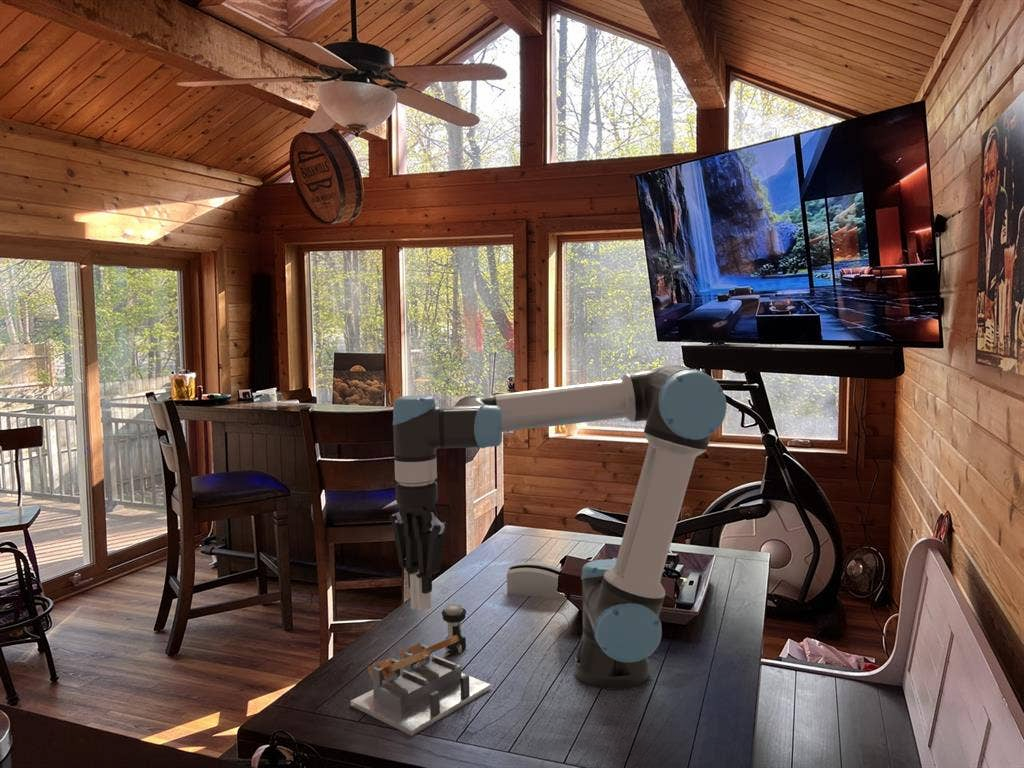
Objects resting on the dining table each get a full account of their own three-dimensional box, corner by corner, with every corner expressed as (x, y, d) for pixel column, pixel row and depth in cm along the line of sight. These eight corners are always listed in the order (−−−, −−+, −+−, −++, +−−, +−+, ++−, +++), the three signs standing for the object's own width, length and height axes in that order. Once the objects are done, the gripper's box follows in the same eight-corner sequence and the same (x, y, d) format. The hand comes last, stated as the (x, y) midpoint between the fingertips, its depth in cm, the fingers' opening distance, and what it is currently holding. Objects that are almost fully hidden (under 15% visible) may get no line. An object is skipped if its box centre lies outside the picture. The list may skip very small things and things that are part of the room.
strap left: (373, 684, 149) (367, 667, 150) (384, 678, 151) (378, 661, 152) (421, 664, 139) (414, 646, 140) (432, 658, 142) (425, 641, 142)
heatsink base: (490, 689, 151) (489, 657, 150) (411, 735, 135) (410, 700, 134) (430, 665, 162) (429, 635, 161) (350, 705, 146) (349, 672, 145)
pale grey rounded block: (572, 593, 201) (568, 562, 197) (567, 605, 197) (563, 574, 193) (513, 586, 207) (507, 556, 203) (507, 598, 203) (501, 567, 199)
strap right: (404, 668, 155) (398, 652, 156) (414, 663, 157) (408, 647, 158) (452, 648, 145) (445, 631, 146) (462, 643, 148) (455, 626, 148)
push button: (453, 661, 163) (451, 616, 162) (434, 655, 166) (432, 611, 165) (472, 649, 169) (470, 605, 168) (453, 644, 172) (451, 601, 171)
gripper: (458, 482, 136) (462, 610, 139) (405, 473, 145) (410, 593, 148) (428, 490, 131) (432, 624, 133) (374, 480, 140) (380, 605, 142)
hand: (421, 607), depth 140 cm, fingers closed
